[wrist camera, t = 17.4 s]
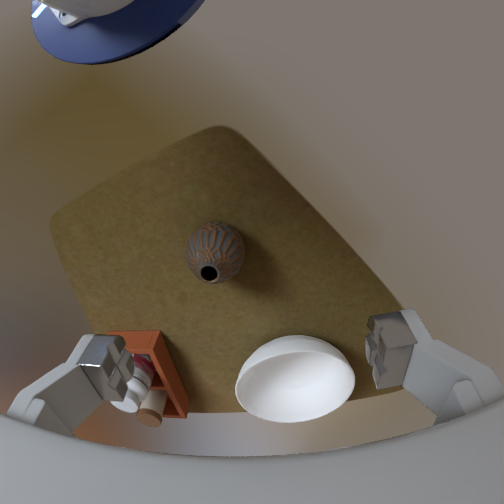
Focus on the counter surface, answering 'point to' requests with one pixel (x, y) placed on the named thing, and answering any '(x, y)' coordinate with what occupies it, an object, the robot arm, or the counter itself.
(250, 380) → the bowl
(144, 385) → the pill bottle
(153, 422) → the spice jar
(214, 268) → the vase
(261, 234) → the counter surface
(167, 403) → the divided tray
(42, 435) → the robot arm
